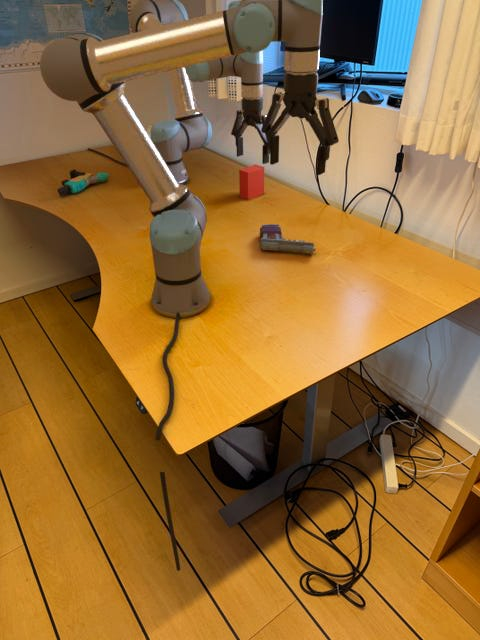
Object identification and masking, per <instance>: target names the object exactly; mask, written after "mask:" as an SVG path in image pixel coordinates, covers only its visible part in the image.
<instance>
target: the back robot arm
mask: <svg viewBox="0 0 480 640" xmlns="http://www.w3.org/2000/svg"><path fill="white" fill-rule="evenodd" d="M188 19H189V15H188V12H187V10H186V7H185V6H184V5H183V3H182V2H181V1H180V0H139V1H137V2H135V3H134V4H133V5H132V7H131V9H130V11H129V15H128V22H129V23H128V24H129V27H130V30H131V31H132V33H136V32H140V31H144V30H148V29H152V28H156V27H160V26H164V25H168V24H172V23H176V22H180V21H184V20H188ZM264 61H265V60H264V50H262V51H260V52H256V53H251V52H246V53H242V54H237V55H232V56H227V57H223V58H219V59H215V60H211V61H207V62H203V63H199V64H194V65H190V66H186V67H182V68H178V69H174V70H170V71H166V72H167V76H168V80H169V84H170V85H169V86H170V89H171V92H172V97H173V101H174V105H175V109H176V115H175V116H174V119H163V120H159V121H157V122H155V123H154V124H152V125H151V126H152V127H151V129H150V133H151V137H150V138H151V140H152V141H153V143H154V144H155V146H156V148H157V149H158V151H159V153H160V154H161V156H162V158H163V159H164V161H165V162H166V164H167V166H168V167H169V169H170V171H171V172H172V174H173V176H174V177H175V179H176V181H177V182H178V183H179V184H181V185H186V184H187V183H188V182H189V175H188V172H187V169H186V167H185V165H184V162H183V154H184V153H187V152H191V151H196V150H200V149H202V148H205V147H207V146H208V145H209V144H210V142H211V140H212V137H213V125H212V124H211V121H209V119H208V118H207V117H205V116H204V113H203V111H202V110H200V109H199V108H198V104H197V99H196V95H195V91H194V86H193V83H203V82H207V81H212V80H217V79H223V78H229V77H236V78H240V97H241V100H240V102H241V109H238V110H236V116H235V120H234V123H233V126H232V128H231V132H230V135H231V136H233V137H234V139H235V147H236V157H239V158H240V157H241V156H244V137H243V134H244V132H245V131H246V129H247V128H248V127H253V128H254V129H255V130H256V131H257V133H258V135H259V136H260V139H261V141H262V143H263V144H262V152H261V154H262V165H265V164H270V150H269V149H268V136H267V134H265V133H262V132H261V129H262V126H263V124H264V121H265V119H266V116H267V114H262V111H263V109H264V99H263V96H264ZM87 150H88V151H91V152H94V153H97V154H99V155H102V156H104V157H106V158H108V159H110V160H112V161H114V162H116V163H118V164H121V165H122V166H124V167H125V166H126V167H128V166H127V165H126V163H125V162H122V161H121V160H118V159H115V158H113V157H111V156H109V155H107V154H105V153H103V152H101V151H98V150H96V149H94V148H90V147H88V148H87Z"/></svg>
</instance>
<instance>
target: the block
mask: <svg viewBox="0 0 480 640" xmlns="http://www.w3.org/2000/svg"><path fill="white" fill-rule="evenodd" d="M238 173H239V174H238V176H239V177H238V178H239V179H238V180H239V181H238V182H239V184H238V185H239V198H242V199H244V200H247V201H249V200H252V199H255V198H257V197H260V196H262V195H264V194H265V166H262V165H259V164H252V165H249V166H246V167H243V168H240V169H239V170H238Z"/></svg>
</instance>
